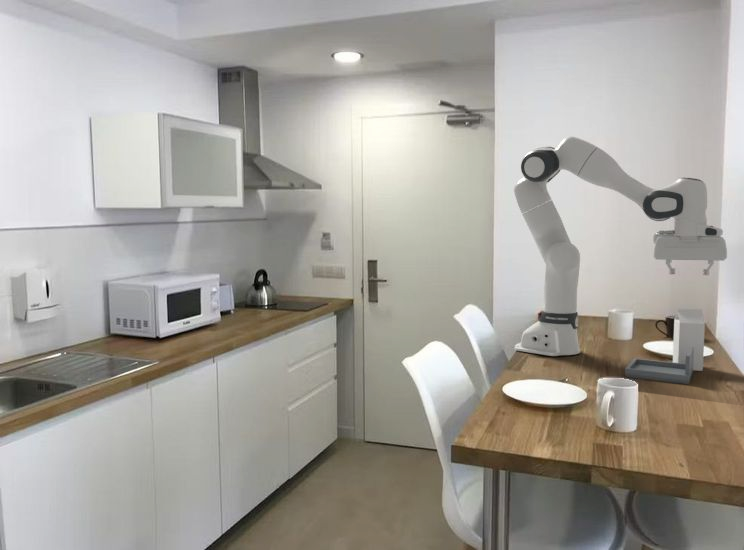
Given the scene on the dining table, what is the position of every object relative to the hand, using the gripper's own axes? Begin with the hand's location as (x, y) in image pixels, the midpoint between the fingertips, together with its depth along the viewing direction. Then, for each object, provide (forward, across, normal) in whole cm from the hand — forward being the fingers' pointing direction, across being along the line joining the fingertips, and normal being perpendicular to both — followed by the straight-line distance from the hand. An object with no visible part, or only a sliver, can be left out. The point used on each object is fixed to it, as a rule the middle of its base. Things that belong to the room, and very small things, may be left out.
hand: (689, 274), depth 190 cm
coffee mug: (+30, -9, +42) cm, 52 cm away
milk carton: (+30, 0, 0) cm, 30 cm away
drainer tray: (+30, -6, -13) cm, 33 cm away
